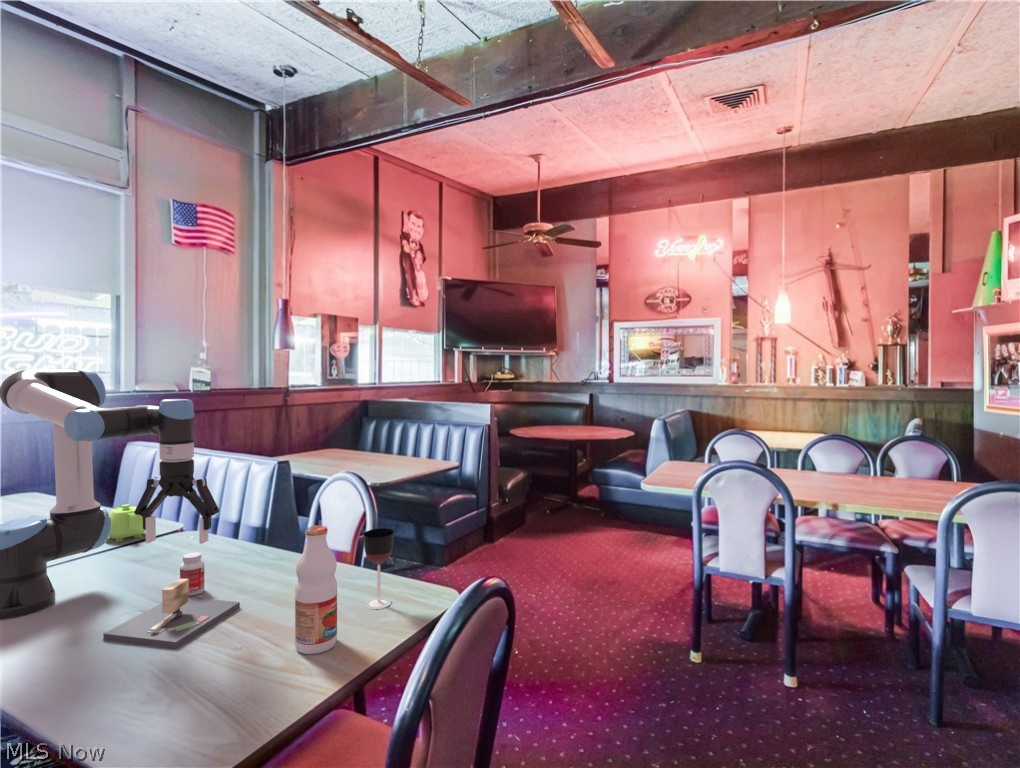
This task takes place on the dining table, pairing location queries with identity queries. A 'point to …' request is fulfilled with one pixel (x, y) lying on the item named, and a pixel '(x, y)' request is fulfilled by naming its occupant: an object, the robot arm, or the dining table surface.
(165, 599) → the beige boxy piece
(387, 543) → the wineglass
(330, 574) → the fruit juice
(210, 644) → the dining table surface
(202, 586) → the pill bottle
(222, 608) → the dial board
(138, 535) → the teapot
